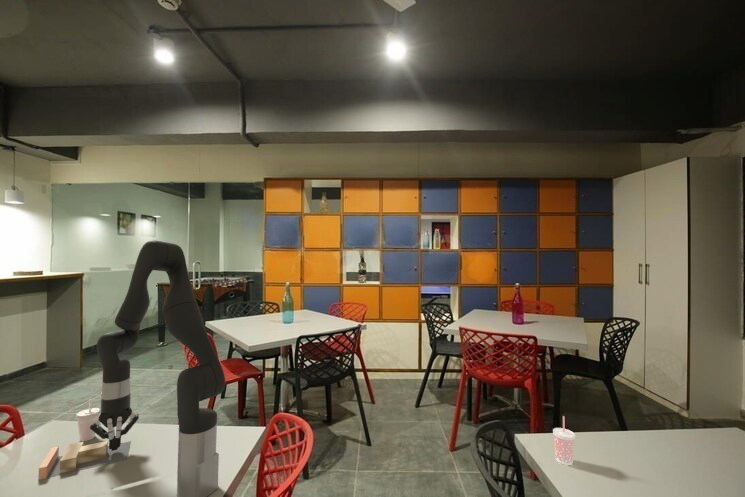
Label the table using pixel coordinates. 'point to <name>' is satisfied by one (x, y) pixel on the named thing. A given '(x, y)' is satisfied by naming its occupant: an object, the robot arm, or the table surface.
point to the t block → (82, 454)
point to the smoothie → (87, 422)
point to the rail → (48, 463)
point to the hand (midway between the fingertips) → (114, 449)
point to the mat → (110, 458)
